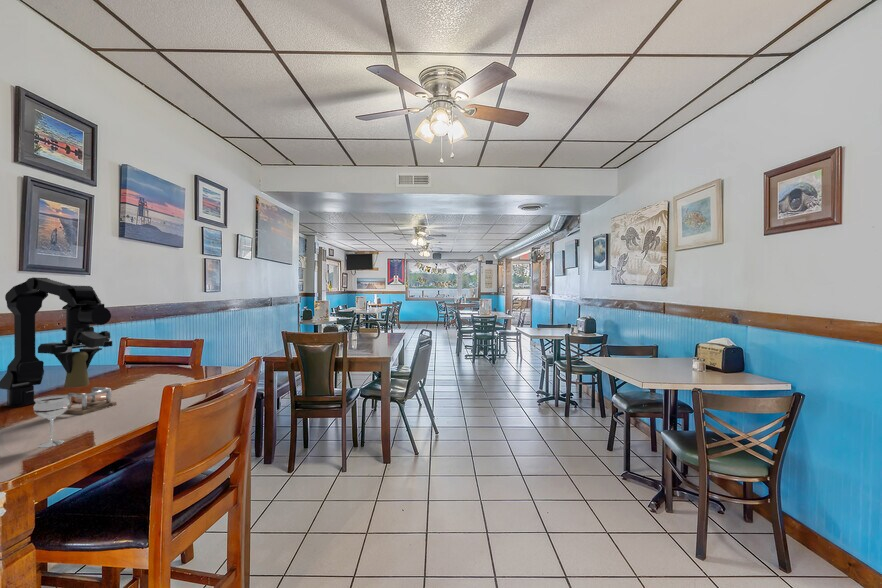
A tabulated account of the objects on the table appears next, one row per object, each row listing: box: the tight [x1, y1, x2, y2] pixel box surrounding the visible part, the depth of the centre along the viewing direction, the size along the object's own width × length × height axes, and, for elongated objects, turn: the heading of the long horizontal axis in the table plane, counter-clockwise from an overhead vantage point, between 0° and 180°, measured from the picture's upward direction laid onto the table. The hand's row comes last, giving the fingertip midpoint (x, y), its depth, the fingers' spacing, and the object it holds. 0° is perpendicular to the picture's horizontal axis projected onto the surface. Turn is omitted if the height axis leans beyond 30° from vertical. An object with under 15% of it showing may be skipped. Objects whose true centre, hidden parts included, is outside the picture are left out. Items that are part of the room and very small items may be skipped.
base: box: [63, 400, 117, 415], centre depth 130 cm, size 9×11×1 cm
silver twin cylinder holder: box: [66, 386, 112, 410], centre depth 130 cm, size 7×9×5 cm
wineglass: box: [32, 394, 70, 448], centre depth 101 cm, size 7×7×12 cm
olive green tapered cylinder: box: [63, 350, 90, 389], centre depth 126 cm, size 6×6×11 cm
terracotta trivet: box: [74, 393, 112, 404], centre depth 142 cm, size 10×10×1 cm
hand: (77, 371), depth 126 cm, fingers closed on olive green tapered cylinder, 4 cm apart
